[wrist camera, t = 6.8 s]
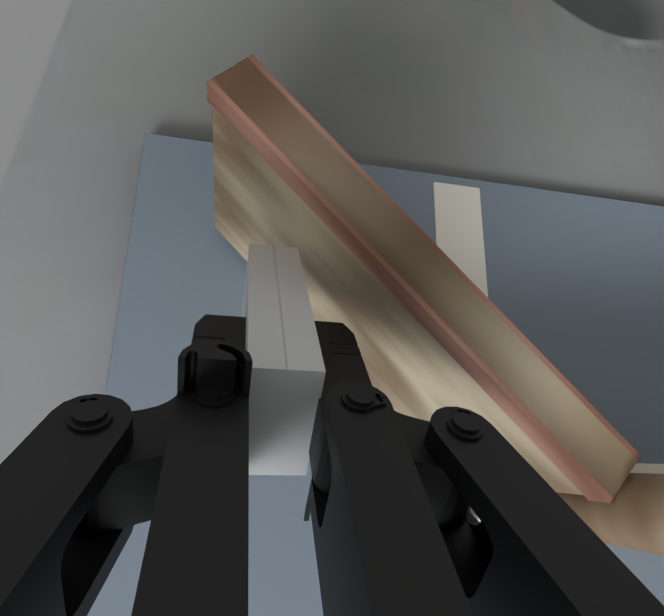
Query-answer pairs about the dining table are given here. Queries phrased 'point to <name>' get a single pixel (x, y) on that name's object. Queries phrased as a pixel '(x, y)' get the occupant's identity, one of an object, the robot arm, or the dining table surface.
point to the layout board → (469, 256)
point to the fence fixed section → (626, 514)
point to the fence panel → (396, 287)
